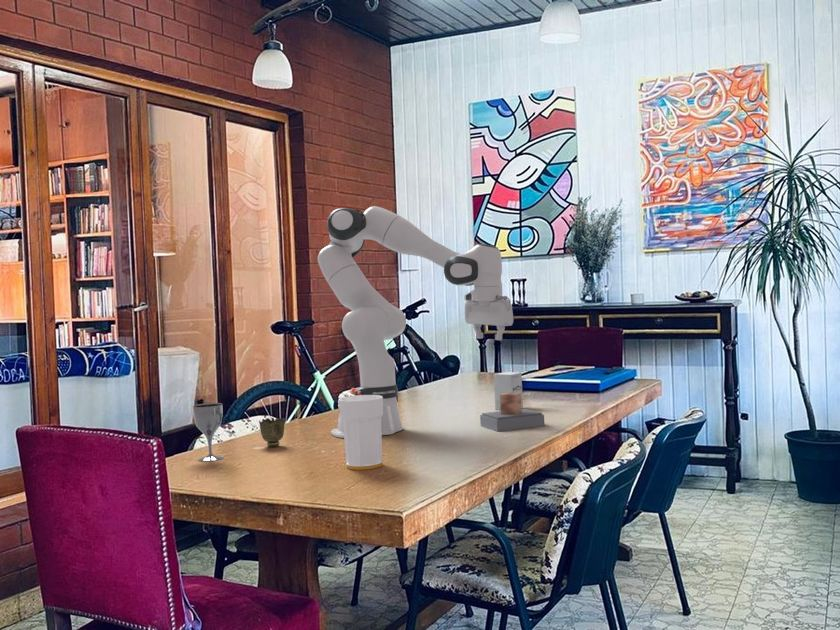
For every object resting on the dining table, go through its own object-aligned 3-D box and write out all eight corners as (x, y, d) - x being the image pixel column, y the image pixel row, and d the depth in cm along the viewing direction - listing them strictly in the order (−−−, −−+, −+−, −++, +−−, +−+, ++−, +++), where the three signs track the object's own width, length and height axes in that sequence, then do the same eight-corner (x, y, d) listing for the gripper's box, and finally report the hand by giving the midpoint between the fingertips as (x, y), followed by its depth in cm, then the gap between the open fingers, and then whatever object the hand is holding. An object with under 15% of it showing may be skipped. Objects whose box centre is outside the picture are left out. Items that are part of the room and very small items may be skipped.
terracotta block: (500, 414, 265) (499, 394, 265) (506, 411, 269) (505, 392, 269) (516, 414, 263) (515, 394, 263) (521, 411, 267) (520, 392, 267)
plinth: (497, 431, 258) (496, 418, 258) (480, 425, 269) (479, 413, 269) (544, 425, 263) (543, 412, 263) (526, 420, 275) (525, 408, 275)
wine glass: (200, 456, 242) (197, 403, 242) (228, 455, 242) (225, 402, 241) (192, 462, 234) (188, 407, 234) (221, 461, 234) (217, 406, 233)
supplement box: (512, 411, 296) (511, 374, 296) (494, 410, 301) (492, 374, 300) (523, 407, 302) (522, 372, 302) (505, 406, 307) (504, 371, 306)
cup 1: (278, 449, 247) (276, 421, 247) (255, 448, 250) (254, 421, 250) (290, 444, 254) (289, 417, 254) (268, 443, 257) (267, 417, 257)
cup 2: (391, 467, 214) (387, 398, 214) (347, 472, 211) (343, 402, 210) (380, 459, 225) (377, 393, 225) (338, 464, 222) (334, 397, 221)
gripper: (517, 295, 264) (518, 340, 265) (476, 294, 281) (477, 336, 282) (502, 296, 261) (502, 341, 262) (460, 295, 278) (461, 338, 278)
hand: (489, 339), depth 272 cm, fingers open, 8 cm apart
